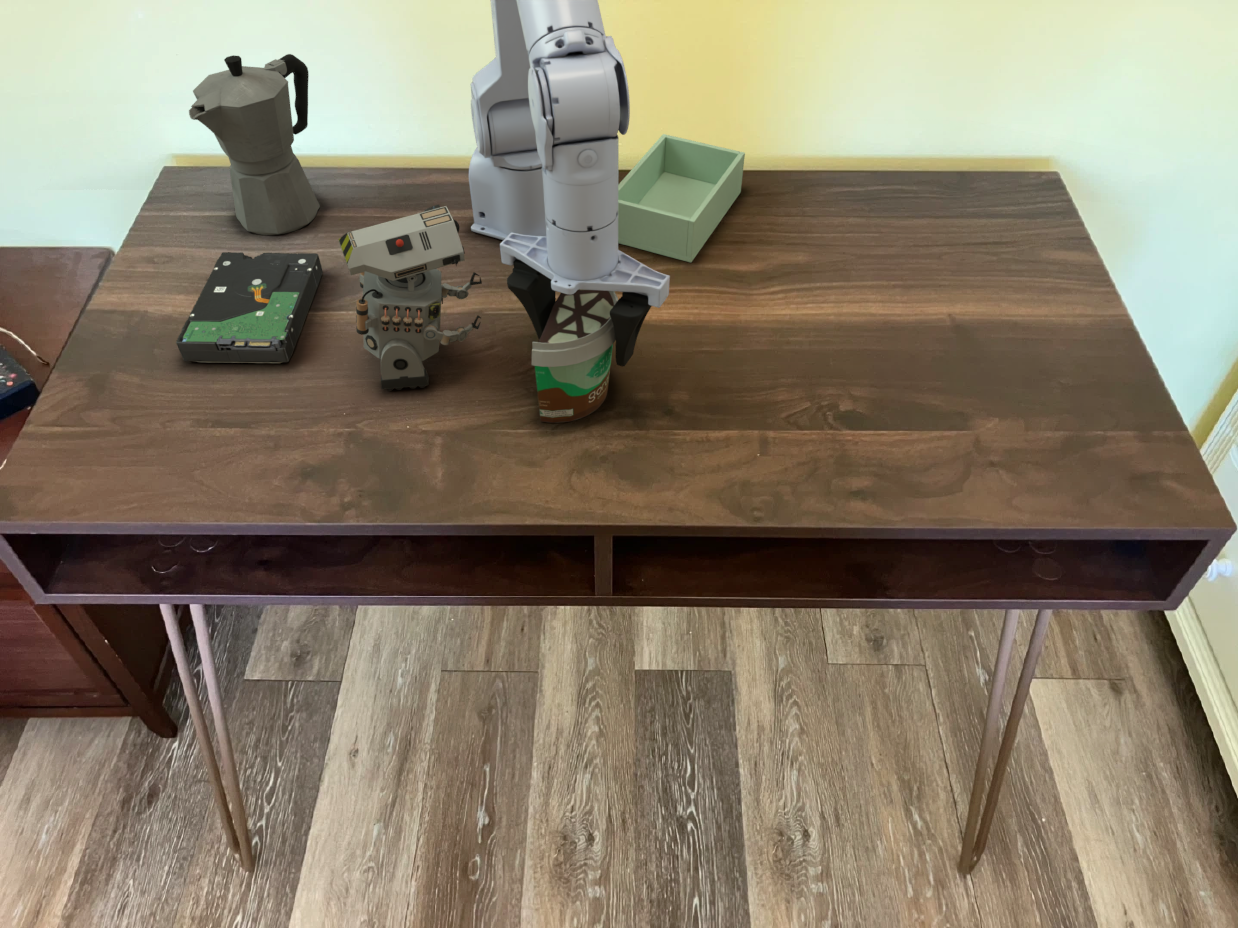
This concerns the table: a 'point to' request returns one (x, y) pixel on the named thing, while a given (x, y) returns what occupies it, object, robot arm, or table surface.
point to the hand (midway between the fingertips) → (585, 346)
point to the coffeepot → (260, 141)
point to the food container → (575, 355)
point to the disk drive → (251, 308)
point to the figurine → (405, 291)
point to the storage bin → (677, 196)
